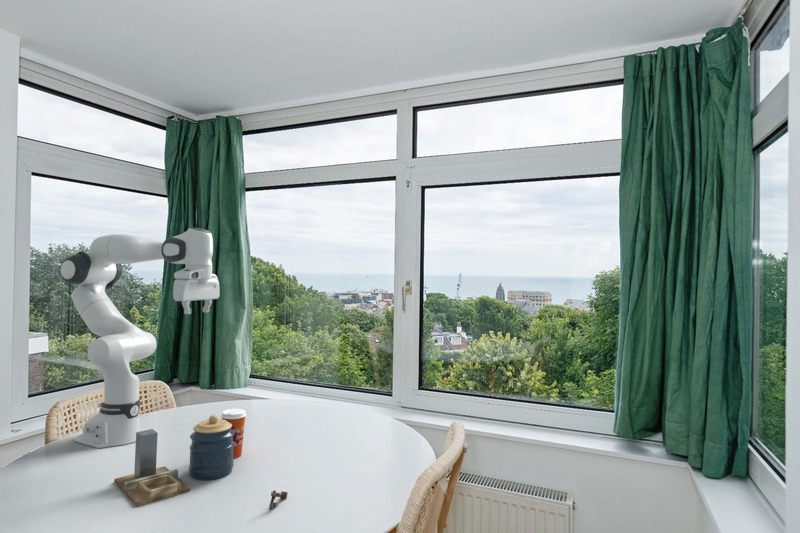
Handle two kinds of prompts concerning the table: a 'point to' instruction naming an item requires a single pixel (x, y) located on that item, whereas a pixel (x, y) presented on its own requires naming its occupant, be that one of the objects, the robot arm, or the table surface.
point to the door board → (152, 486)
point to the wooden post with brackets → (275, 494)
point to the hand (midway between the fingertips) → (197, 313)
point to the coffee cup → (236, 428)
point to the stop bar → (145, 453)
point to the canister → (211, 449)
